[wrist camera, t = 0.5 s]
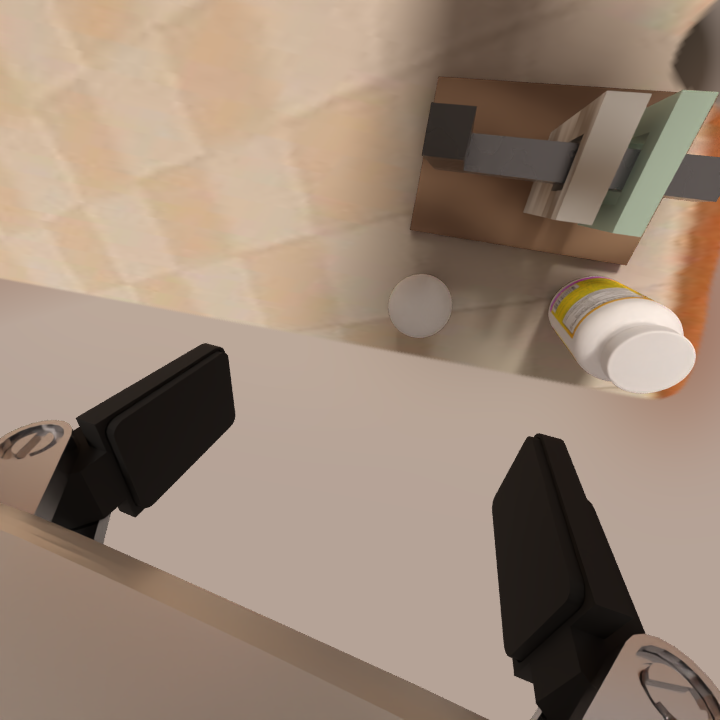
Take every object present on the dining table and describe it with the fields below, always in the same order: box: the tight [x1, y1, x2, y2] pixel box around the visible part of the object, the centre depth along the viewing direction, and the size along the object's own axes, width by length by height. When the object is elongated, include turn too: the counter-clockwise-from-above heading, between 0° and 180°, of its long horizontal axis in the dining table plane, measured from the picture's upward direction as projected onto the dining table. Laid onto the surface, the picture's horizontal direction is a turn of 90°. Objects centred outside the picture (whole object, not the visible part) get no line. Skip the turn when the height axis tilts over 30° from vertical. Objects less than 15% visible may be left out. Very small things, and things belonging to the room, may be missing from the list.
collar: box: [577, 90, 719, 237], centre depth 19 cm, size 6×2×6 cm, turn 173°
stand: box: [410, 77, 718, 265], centre depth 22 cm, size 12×20×13 cm, turn 83°
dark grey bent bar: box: [422, 102, 720, 202], centre depth 16 cm, size 2×16×8 cm, turn 83°
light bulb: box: [388, 274, 452, 338], centre depth 31 cm, size 6×6×10 cm
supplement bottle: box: [548, 276, 696, 393], centre depth 26 cm, size 7×7×13 cm
